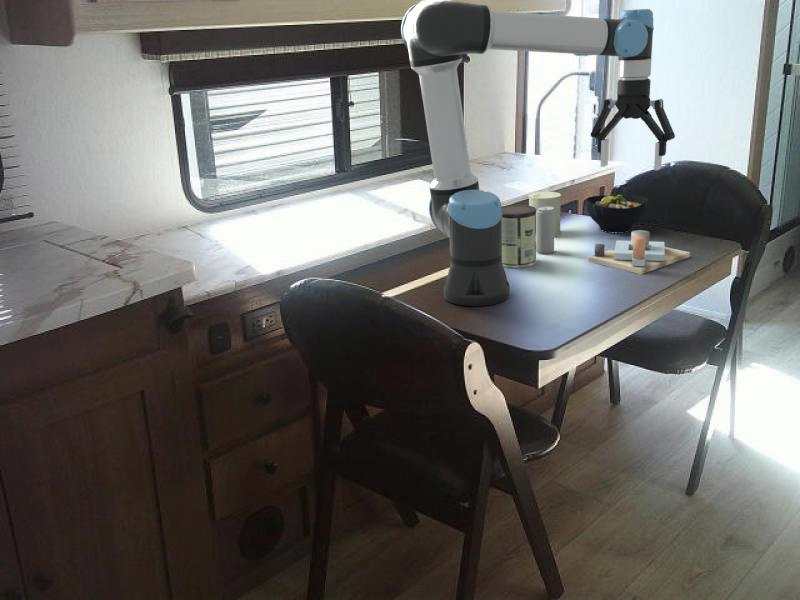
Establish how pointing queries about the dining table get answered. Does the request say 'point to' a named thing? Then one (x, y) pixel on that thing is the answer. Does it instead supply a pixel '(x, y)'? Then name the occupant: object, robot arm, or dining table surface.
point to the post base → (609, 260)
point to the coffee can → (518, 236)
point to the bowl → (616, 211)
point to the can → (548, 200)
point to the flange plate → (649, 254)
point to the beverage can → (545, 229)
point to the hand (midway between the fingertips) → (630, 167)
